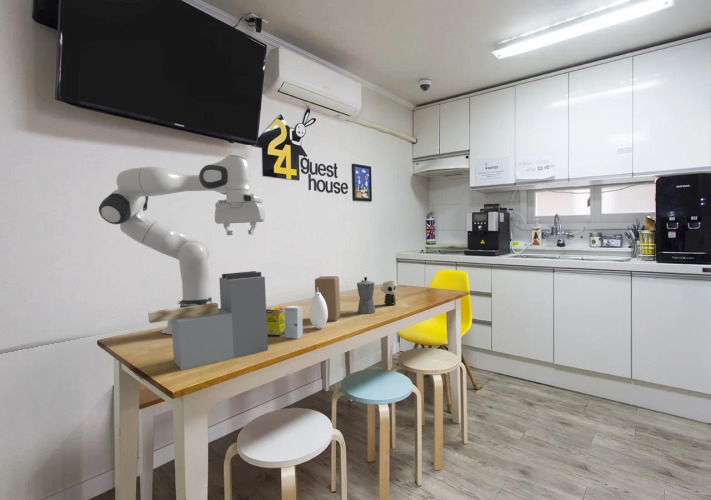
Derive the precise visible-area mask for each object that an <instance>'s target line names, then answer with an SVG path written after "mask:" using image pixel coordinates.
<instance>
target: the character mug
mask: <svg viewBox="0 0 711 500" xmlns="http://www.w3.org/2000/svg"><path fill="white" fill-rule="evenodd" d="M398 289H399V285H398V283H397V282H396V281H395V280H385V281H384V280H383V282H382V285H381V286H380V291H381V292H383V293H384V294H385V295H384V304H385V305H387V306H391V305H396V297H395V294H396V293H397V291H398Z"/></svg>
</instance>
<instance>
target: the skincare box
mask: <svg viewBox="0 0 711 500" xmlns="http://www.w3.org/2000/svg"><path fill="white" fill-rule="evenodd" d="M284 307H285V333H284V338H285V339H295V340H297V339H300V338H301V337H303V335H304V334H303V332H304V331H303V329H304V327H303V326H304V325H303V323H304V322H303V306H301V305H287V306H284Z"/></svg>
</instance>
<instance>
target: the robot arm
mask: <svg viewBox="0 0 711 500" xmlns="http://www.w3.org/2000/svg"><path fill="white" fill-rule="evenodd" d="M249 167H250V166H249V163H248V161H247V159H246V158H244V157H242V156H239V155H233V154H228V155H226V156H225V158H223V159H221V160H219V161H217V162H215V163H212V164H206V165H204V166H203V167H202V168H201V169H200V171H199V174H184V173H181V172H178V171H174V170H171V169H167V168H164V167H159V166H157V167H156V166H144V167H143V166H142V167H135V168H134V167H133V168H129V169H126V170H122V171H121V172H119V173H118V174H117V176H116V186H117V189H115V190H114V191H113V192H111V194H109V195H107V197H105V198H104V199H103V200H102V201H101V203H100V204H99V206H98V213H99V216H100V217H101V218H102V219H103V220H104V221H106V222H107V223H109V224H112V225H119V228H120V231H121V232H122V233H124V234H125V235H126V236H128V237H129V238H131V239H132V240H134V241H135V242H137V243H139V244H142V245H144V246H146V247H147V248H150V249H152V250H154V251H156V252H158V253H160V254H163V255H166V256H169V257H171V258H174V259H176V260H178V262H179V263H178V264H179V270H180V271H179V272H180V278H181V290H182V291H181V292H182V300H178V302H177V305H179V308H181V307H188V306H196V305H203V304H211V303H213V301H212V300H213V299H212V297H211V280H210V272H209V261H208V260H209V256H210V251H209V248H208V247H207V246H206V244H204V243H203V242H201V241H198V240H196V238H195V239H194V238H192V237H190V236H188V235H186V234H184V233H182V232H180V231H177V230H175V229H174V228H171V227H169V226H167V225H165V224H163V223H161V222H159V221H157V220H155V219H153V218H152V217H149V216H147V214H145V211H147V209H148V202H149V197H157V196H158V197H159V196H164V195H170V194H177V193H183V192H196V191H197V192H201V191H211V192H212V191H213V192H216V193H219V194H222V195H225V197H226V199H219V200H218V201H216V202H215V207H214V208H215V209H214V210H215V211H214V222H215V223H216V224H217V225H218V224H219V225H222V224H223V228H224V229H225V232H226V236H233V233H234V232H233V230H231V228H230V226H231V224H244V223H249V225H250V229H248V230H247V235H254V234H255V229H256V227H257V223H263V222H265V220H266V212H265V206H264V204H263V201H264V199H263V197H262V196H258V195H255V194H251V188H250V181H251V178H250V176H251V175H250V168H249ZM166 326H167V327H165V328H163V329H162V330H161V333H162V334H165V333H166V334H167V335H172V320H168V321H167V325H166Z"/></svg>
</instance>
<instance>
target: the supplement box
mask: <svg viewBox="0 0 711 500" xmlns="http://www.w3.org/2000/svg"><path fill="white" fill-rule="evenodd" d="M285 307H286V306H271V307H269V308H266V317H267V337H281V336H283V335H285Z"/></svg>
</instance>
